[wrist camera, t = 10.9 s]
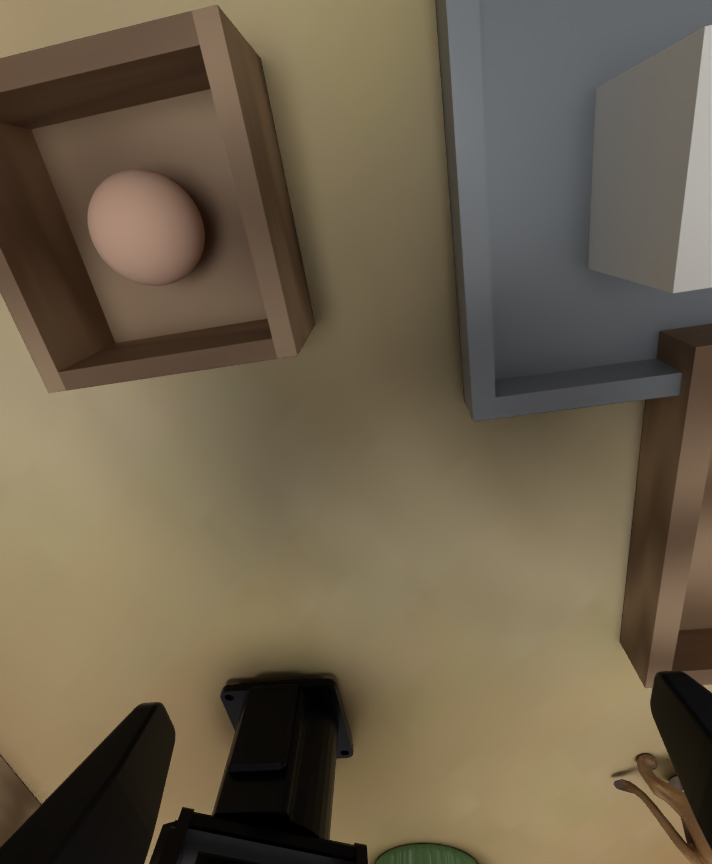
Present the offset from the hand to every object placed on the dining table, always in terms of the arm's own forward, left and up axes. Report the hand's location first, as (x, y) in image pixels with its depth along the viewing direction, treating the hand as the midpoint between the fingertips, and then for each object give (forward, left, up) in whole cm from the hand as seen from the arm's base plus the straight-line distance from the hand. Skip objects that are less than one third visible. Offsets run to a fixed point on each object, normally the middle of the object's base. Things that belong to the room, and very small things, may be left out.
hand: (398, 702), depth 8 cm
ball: (+9, +6, -11) cm, 15 cm away
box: (+9, +6, -12) cm, 16 cm away
